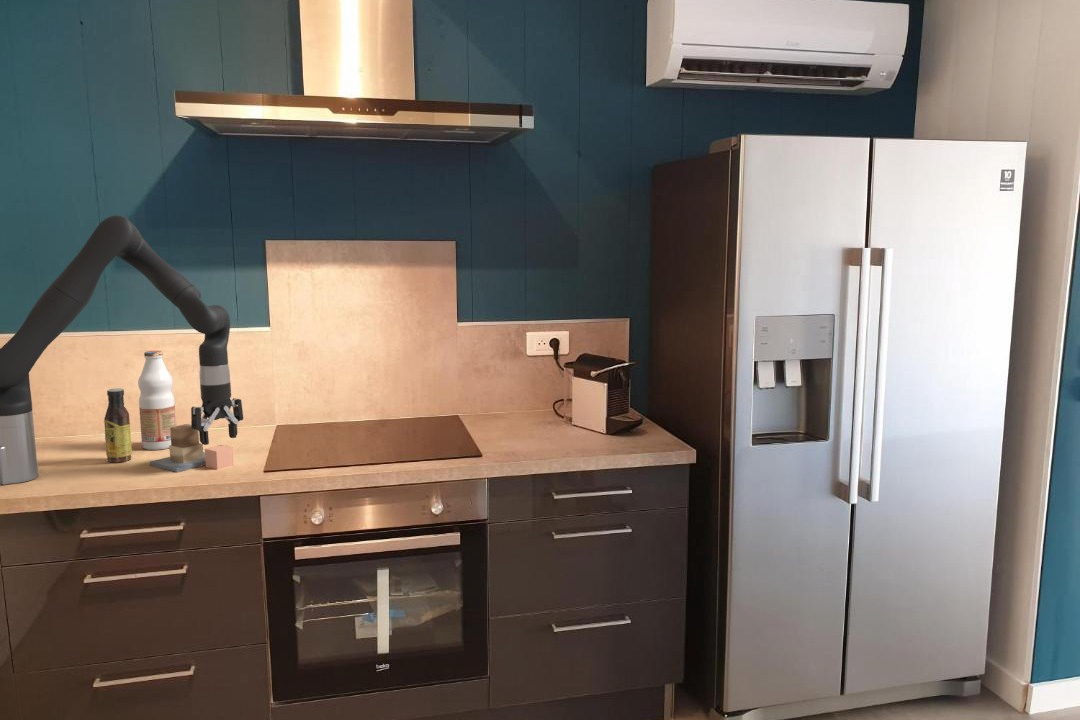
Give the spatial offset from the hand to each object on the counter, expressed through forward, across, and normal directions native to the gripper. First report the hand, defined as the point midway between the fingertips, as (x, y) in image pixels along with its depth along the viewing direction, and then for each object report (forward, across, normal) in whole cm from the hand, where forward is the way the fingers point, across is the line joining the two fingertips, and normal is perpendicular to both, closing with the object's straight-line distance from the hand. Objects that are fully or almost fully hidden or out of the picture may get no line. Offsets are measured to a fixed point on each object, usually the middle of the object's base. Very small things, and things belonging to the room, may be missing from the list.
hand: (219, 440), depth 223 cm
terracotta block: (+7, 0, 0) cm, 7 cm away
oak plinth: (+7, -3, +10) cm, 12 cm away
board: (+7, -3, +10) cm, 12 cm away
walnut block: (+2, -4, +10) cm, 11 cm away
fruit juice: (+7, +3, +32) cm, 33 cm away
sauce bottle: (+7, -12, +27) cm, 30 cm away
